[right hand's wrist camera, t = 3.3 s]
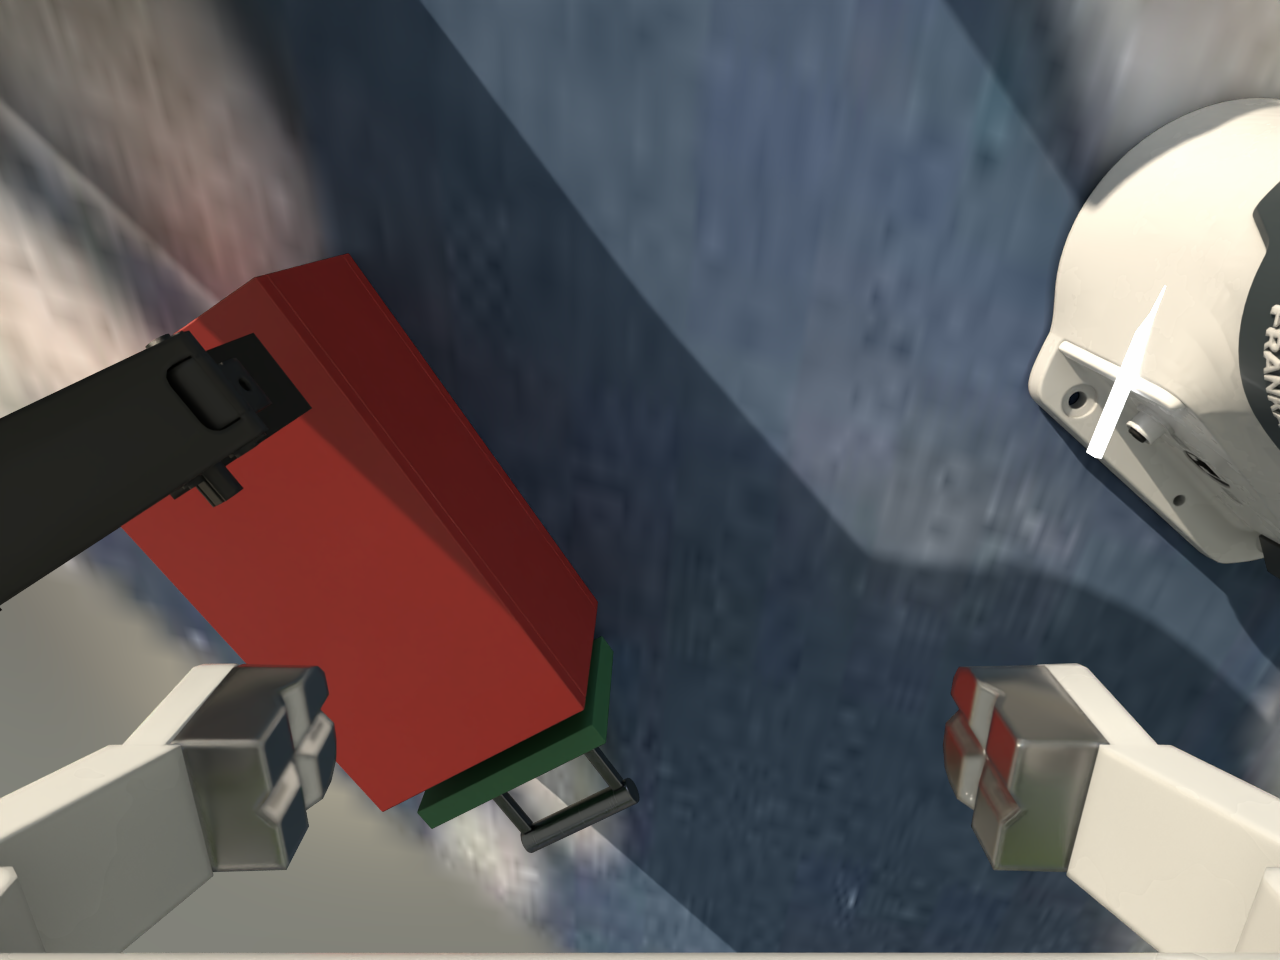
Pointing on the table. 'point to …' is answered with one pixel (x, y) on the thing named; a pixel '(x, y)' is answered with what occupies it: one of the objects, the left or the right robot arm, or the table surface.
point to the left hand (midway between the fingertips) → (111, 485)
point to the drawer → (543, 770)
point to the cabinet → (378, 546)
